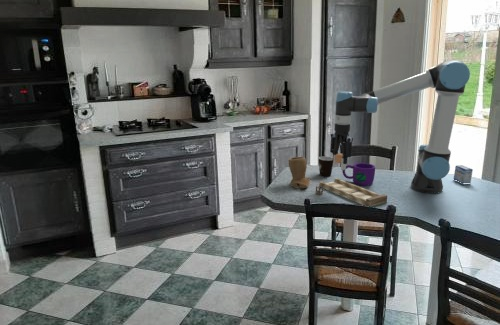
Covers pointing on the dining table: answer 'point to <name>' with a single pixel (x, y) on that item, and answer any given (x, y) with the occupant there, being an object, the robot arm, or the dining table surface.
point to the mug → (361, 173)
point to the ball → (338, 158)
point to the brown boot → (298, 172)
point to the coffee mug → (325, 166)
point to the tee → (319, 191)
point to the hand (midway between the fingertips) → (339, 168)
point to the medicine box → (463, 174)
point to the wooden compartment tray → (354, 192)
